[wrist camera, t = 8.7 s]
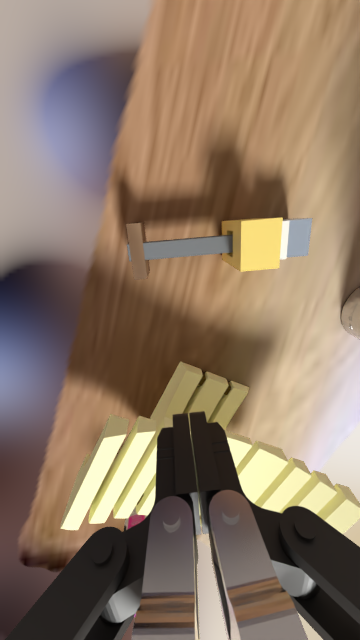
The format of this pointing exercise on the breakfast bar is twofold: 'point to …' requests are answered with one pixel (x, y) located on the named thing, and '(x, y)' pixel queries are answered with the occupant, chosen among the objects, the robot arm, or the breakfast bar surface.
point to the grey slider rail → (187, 247)
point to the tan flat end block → (138, 250)
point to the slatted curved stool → (219, 405)
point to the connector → (298, 237)
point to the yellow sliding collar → (254, 243)
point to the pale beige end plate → (284, 239)
